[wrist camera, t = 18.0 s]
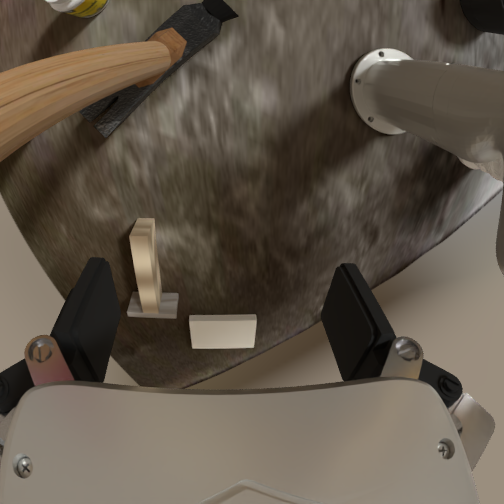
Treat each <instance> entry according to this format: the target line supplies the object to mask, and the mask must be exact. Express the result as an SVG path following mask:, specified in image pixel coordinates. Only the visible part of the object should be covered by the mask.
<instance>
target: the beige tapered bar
mask: <svg viewBox="0 0 504 504" xmlns="http://www.w3.org/2000/svg"><path fill="white" fill-rule="evenodd" d="M129 238H130V244H131V251H132V257H133V263H134V269H135V274H136V280H137V285H138V290H139V292H133V293H132V297H131V300H130V303H129V307H128V311H127V314H128V316H129V317H149V318H176V315H177V307H178V298H179V296H178V293H162V287H161V279H160V271H159V263H158V254H157V244H156V233H155V222H154V218H138V219H137V221H136V223H135V225H134V227H133V229H132V231H131V234H130V236H129Z"/></svg>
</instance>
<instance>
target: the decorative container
mask: <svg viewBox="0 0 504 504" xmlns="http://www.w3.org/2000/svg"><path fill="white" fill-rule="evenodd" d="M457 157H458V156H457ZM458 158H459V160H460V161H461V162H462V163H463V164H464V165H466V166H467V167H469V168H472V169H480V170H483V172H487V173H489V174H490V175H491V176H493V178H495V179H497V180H500V181H502V182H503V176H504V162H503V157H500V158H498V159H496V160H493V161H490V162H486V163H472V162H469V161H466V160H464V159H461V158H460V157H458Z"/></svg>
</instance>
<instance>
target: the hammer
mask: <svg viewBox="0 0 504 504" xmlns="http://www.w3.org/2000/svg"><path fill="white" fill-rule="evenodd" d="M236 17H238V15H237V14H236V13H235V12H234V11H233V10H232V9H231V8H230V7H229V6H228V5H227V4H226V3H225V2H224V1H223V0H204V1H203V2H202V4H201V3H198V4H191V5H184V6H182V7H181V8H180V9H179V10H178V11H177V12H175V13H174V14H173V15H172V16H171V17H170V18H169V19H168V20H166V21H165V22H164V23H163V24H162V25H161V26H160V27H159V28H158V29H157V30H156V31H155V32H154V33H153V34H152V35H151V36H150V37H149V38H148V39H147V40H146V41H145V42H135V43H125V44H117V45H110V46H103V47H97V48H91V49H85V50H80V51H75V52H70V53H66V54H62V55H57V56H53V57H50V58H46V59H42V60H39V61H35V62H32V63H28V64H25V65H22V66H19V67H16V68H13V69H10V70H7V71H5V72H2V73H0V162H1V161H2V160H4V159H5V158H6V157H8V156H9V155H10V154H12V153H13V152H14V151H16V150H17V149H19V148H20V147H21V146H23V145H24V144H26V143H27V142H29V141H30V140H31V139H33V138H34V137H36V136H37V135H39V134H41V133H42V132H44V131H45V130H47V129H48V128H50V127H52V126H53V125H55V124H57V123H58V122H60V121H62V120H63V119H65V118H67V117H69V116H70V115H72V114H74V113H76V112H77V111H79V110H81V109H82V110H81V111H80V113H81V114H82V115H83V116H84V117H85V118H86V119H87V120H88V121H89V122H91V121H93V120H94V119H95V118H96V117H97V116H99V115H100V114H101V113H102V112H103V111H105V110H106V109H107V108H108V107H109V106H110V105H111V104H112V103H114V102H115V101H116V100H117V99H118V100H117V102H116V103H115V104H114V105H113V107H112V108H111V109H110V110H109V111H108V112H107V113H106V114H105V115H104V116H103V117H102V118H101V119H100V120H99V121H98V122H97V123H96V124H95V125H94V127H95V128H96V129H97V130H98V131H99V132H100V133H101V134H102V135H103V136H104V137H105V138H106V137H107V136H108V135H109V134H110V133H111V132H112V131H113V130H114V129H116V128H117V127H118V126H119V125H120V124H121V123H122V122H123V121H124V120H125V119H126V118H127V117H128V116H129V115H130V114H131V113H132V112H133V111H134V110H135V109H136V108H137V107H138V106H139V105H140V104H141V103H142V102H143V101H144V100H145V99H146V97H147V96H148V95H149V94H150V93H151V92H152V91H153V90H154V89H155V88H156V87H158V86H159V85H160V84H161V83H162V82H163V81H164V80H165V79H166V78H167V77H168V76H170V75H171V74H172V73H173V72H174V71H175V70H176V69H178V68H179V67H180V66H181V65H182V64H183V63H185V62H186V61H187V60H188V59H189V58H190V57H192V56H193V55H194V54H195V53H196V52H198V51H199V50H200V49H201V48H202V47H204V46H205V45H206V44H208V43H209V42H210V41H211V40H213V39H214V38H215V37H217V36H218V35H219V32H220V29H221V25H222V22H225V21H227V20H230V19H233V18H236Z"/></svg>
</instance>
